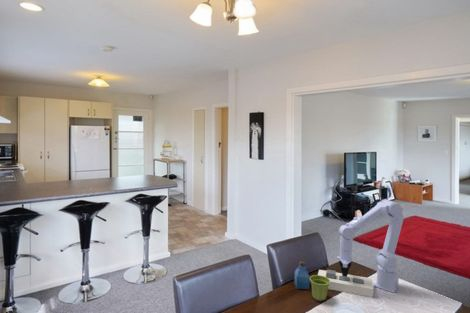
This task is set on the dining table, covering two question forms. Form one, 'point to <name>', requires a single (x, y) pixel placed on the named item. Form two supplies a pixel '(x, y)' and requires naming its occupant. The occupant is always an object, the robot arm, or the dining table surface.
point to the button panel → (350, 284)
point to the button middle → (344, 278)
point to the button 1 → (331, 274)
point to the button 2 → (358, 281)
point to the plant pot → (319, 287)
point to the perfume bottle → (301, 276)
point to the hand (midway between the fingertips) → (344, 275)
